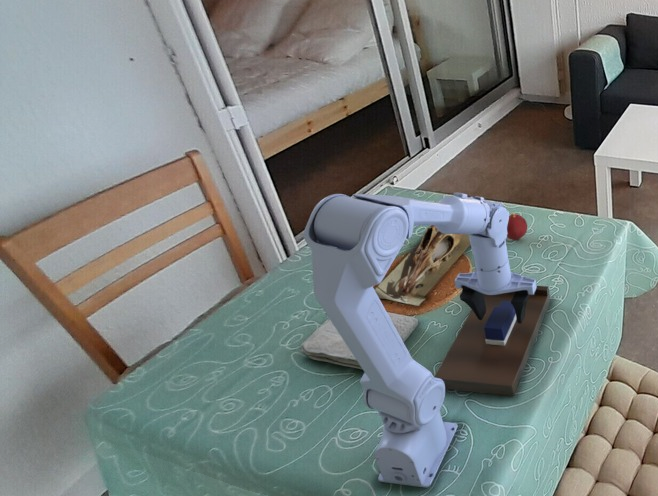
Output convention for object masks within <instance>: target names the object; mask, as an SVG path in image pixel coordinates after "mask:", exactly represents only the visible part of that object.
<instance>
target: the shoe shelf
mask: <svg viewBox="0 0 658 496" xmlns="http://www.w3.org/2000/svg"><path fill="white" fill-rule="evenodd" d="M514 294H515V292H509V293H503V294H497V295H486V294H484V300H485V305H486V313H485V315H484V317H483V319H482V320H479V319H478V318H477V316H476V315H475V313H474V312H473V310H472V309H471V310H470V311H469V314H468V316H467V318H466V320H465V321H464V323H463V324H462V326H461V328H460V329H459V332H458V333H457V335H456V337H455V339H454V341H453V342H452V344H451V346H450V348H449V349H448V351H447V353H446V355H445V357H444V358H443V361H442V362H441V363H440V365H439V367H438V369H437V371H436V373H435V375H433V377H435V378H440V379H442V380H443V382H444V384H445V390H451V391H452V390H453V391H461V392H462V391H463V392H471V393H481V394H489V395H490V394H492V395H501V396H510V397H514V396H515V394H516V392H517V390H518V387H519V384H520V381H521V379H522V376H523V374H524V371H525V369H526V366H527V364H528V361H529V358H530V355H531V353H532V350H533V347H534V345H535V342H536V340H537V337H538V335H539V332H540V329H541V327H542V324H543V322H544V319H545V316H546V314H547V311H548V308H549V306H550V304H551V294H550V287H549V286H546V285H545V286H544V285H537V288H536V290H535V292H534V295H530V294H529V297H528V300H527V303H526V309H525V317H524V319H523V322H522V323H521V324H520V323H518V322H517V319H516V322H515V324H514V326H513V328H512V331H511V333H510V335H509V337H508V340H507V342H506V344H505V346H502V345H492V344H486V341H485V340H486V335H485V331H484V326H485V324H486V322H487V320H488V318H489V316H490V314H491V313H492V311H493V309H494V307H495V306H498V307H499V305H500V303H501V301H509V302H511V300H512V298H513V296H514Z"/></svg>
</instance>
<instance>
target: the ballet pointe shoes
mask: <svg viewBox="0 0 658 496" xmlns="http://www.w3.org/2000/svg"><path fill="white" fill-rule="evenodd" d="M469 247H471V243H470V238H469V235H468V234H444V233H441V232H440V231H438V230H437V229H436V227H435V226H434V225H429V227H427V229H426V230H425V232H424V234H423V236H422V239H421V241H420V242H419V243H418V244H416V246H415V247H414V248H413V249H412V251H410V252H409V253H408V254H407V255H406V256H405V257H404V258H403V259H402V261H400V262H399V264H398V265H396V267H395V268H394V269H393V270H391V272H390V273H388V275H387V276H386V277H384V278H383V280H382V281H381V283H380V284H378V285H376V287H375V288H374V290H375V292H376V294H377V295H378V297H379V299H383V300H384V299H386V300H389V301H393V302H399V303H403V304H408V305H412V306H417V307H418V306H421V304H422V303H423V302H424V301H426V299H427V298H426V296H427V294H428V293H429V292H430V291H431V290H432V289H433V288H434V286H435V285H436V284H437V283H438V282H439V281H440V280H441V279H442V277H444V276H445V273H447V272H448V271H449V270H450V269H451V268H452V267H453V265H454V264H455V263H456V262H457V261H458V259H459V258H460V257H462V255H463V254H464V253H465V252H466V250H467V249H468V248H469Z"/></svg>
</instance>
